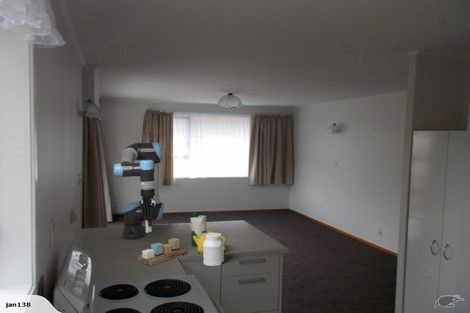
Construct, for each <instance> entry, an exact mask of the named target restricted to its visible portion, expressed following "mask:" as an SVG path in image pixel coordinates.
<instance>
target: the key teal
mask: <svg viewBox="0 0 470 313" xmlns="http://www.w3.org/2000/svg"><path fill="white" fill-rule="evenodd" d="M163 245H164V243H160V242H155V243H152V244H150V249H151V250H154V254H155V255H158V254H161V253H163Z"/></svg>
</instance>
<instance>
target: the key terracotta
mask: <svg viewBox="0 0 470 313" xmlns="http://www.w3.org/2000/svg"><path fill="white" fill-rule="evenodd" d="M169 252H172V245H169V244H168V243H163V253H165V254H166V253H169Z"/></svg>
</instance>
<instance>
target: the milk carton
mask: <svg viewBox="0 0 470 313" xmlns="http://www.w3.org/2000/svg"><path fill="white" fill-rule="evenodd" d="M204 233H207V215H199V212H193V213H191V217H190V234H191V236H190V237H191V247H192V246H198V245H197V244H196V242H195V240H194V238H193V236H197V237H198V238H199V236H201V235H202V234H204Z"/></svg>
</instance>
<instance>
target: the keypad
mask: <svg viewBox="0 0 470 313" xmlns="http://www.w3.org/2000/svg"><path fill="white" fill-rule="evenodd" d="M186 253H187V254H188V251H187V249H185V248H181V247H180V248H177V249H174V250H173V249H172V252H169V253H166V254H165V253H161V254H158V255H155V254H154V257H153V258H150V259H145V258H142V253H141V254H138V255H135V261H136V262H137V263H142V264H143V265H146V266H149V267H153V266H156V265H159V264H162V263H164V262H168V261H171V260H173V258H174V259H176V258H175V257H177V256H180V255H183V254H186ZM187 254H186V255H187ZM183 256H184V255H183ZM180 257H181V256H180ZM177 258H178V257H177Z"/></svg>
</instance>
